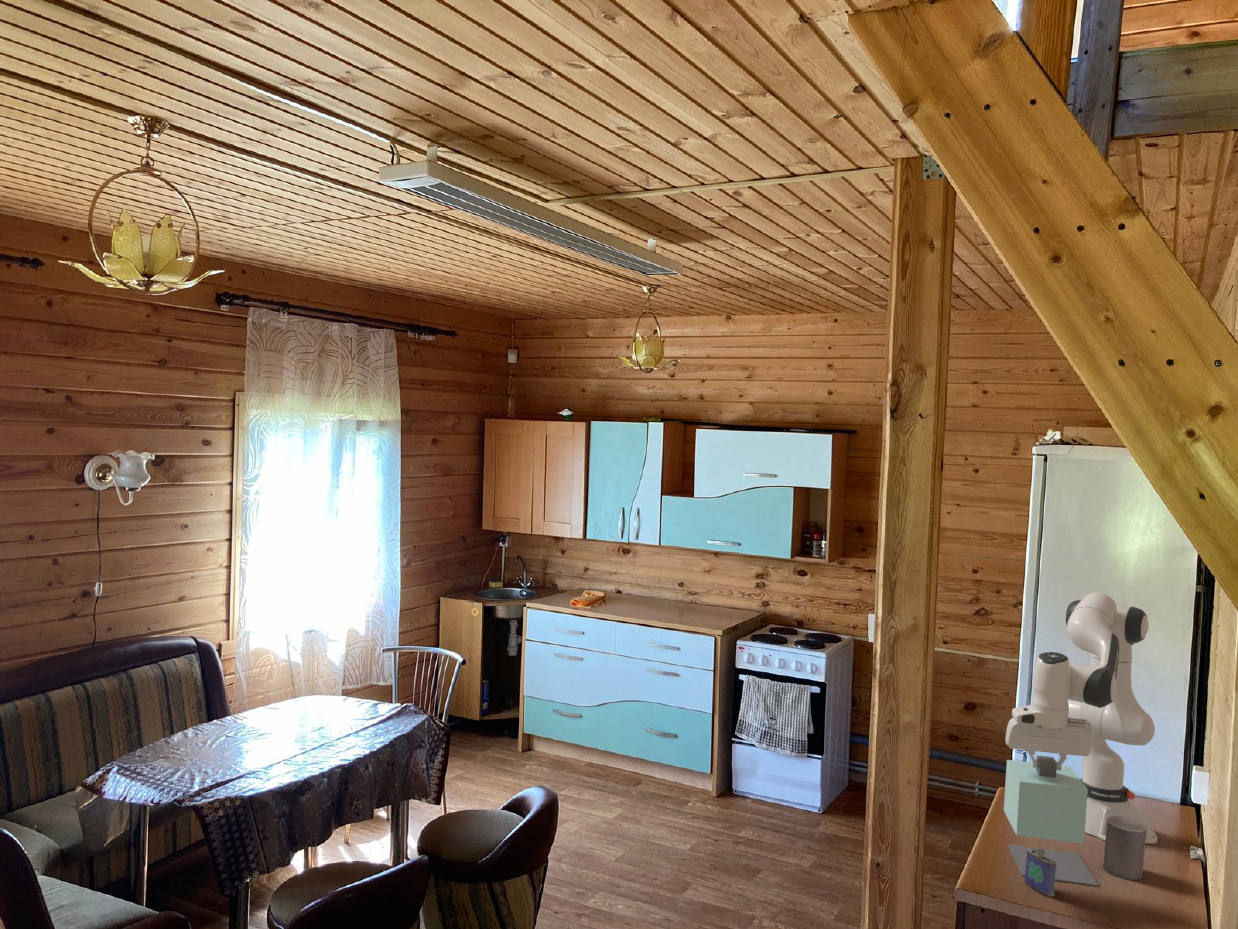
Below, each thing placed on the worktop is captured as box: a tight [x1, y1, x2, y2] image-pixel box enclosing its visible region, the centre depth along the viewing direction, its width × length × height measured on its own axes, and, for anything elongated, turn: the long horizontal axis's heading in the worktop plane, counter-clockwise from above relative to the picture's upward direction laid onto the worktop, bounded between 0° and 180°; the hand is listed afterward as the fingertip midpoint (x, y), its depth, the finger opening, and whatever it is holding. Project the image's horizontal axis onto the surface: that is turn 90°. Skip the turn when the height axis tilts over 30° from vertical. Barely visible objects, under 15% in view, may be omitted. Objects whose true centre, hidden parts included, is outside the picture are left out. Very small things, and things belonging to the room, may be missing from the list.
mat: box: [1007, 844, 1100, 887], centre depth 258 cm, size 19×19×1 cm
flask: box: [1023, 848, 1056, 899], centre depth 243 cm, size 9×3×11 cm, turn 20°
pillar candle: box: [1102, 816, 1147, 881], centre depth 255 cm, size 10×10×15 cm
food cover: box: [1003, 754, 1088, 844], centre depth 242 cm, size 16×16×18 cm
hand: (1046, 768), depth 242 cm, fingers closed on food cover, 4 cm apart
